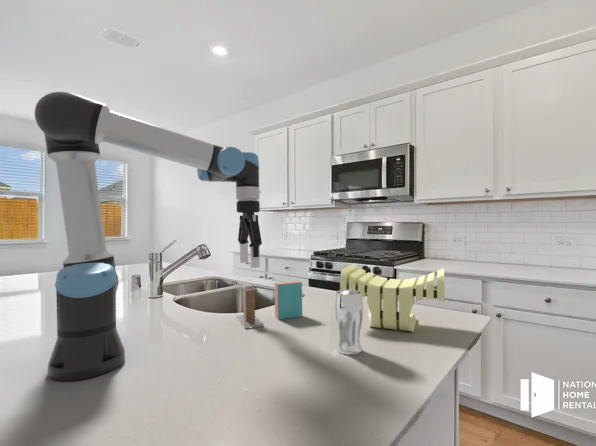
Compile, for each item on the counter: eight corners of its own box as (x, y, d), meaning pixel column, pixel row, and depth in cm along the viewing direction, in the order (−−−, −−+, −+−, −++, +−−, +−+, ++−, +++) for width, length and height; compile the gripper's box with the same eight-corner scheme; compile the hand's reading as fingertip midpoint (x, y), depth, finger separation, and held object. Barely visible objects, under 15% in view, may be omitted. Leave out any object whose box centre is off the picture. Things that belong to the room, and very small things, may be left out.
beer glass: (368, 349, 85) (367, 291, 85) (353, 358, 80) (352, 296, 80) (345, 343, 90) (345, 288, 90) (330, 350, 85) (329, 292, 85)
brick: (302, 316, 115) (302, 282, 115) (278, 320, 112) (277, 284, 111) (298, 314, 118) (298, 280, 118) (275, 317, 114) (274, 282, 114)
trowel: (263, 326, 105) (263, 292, 105) (245, 329, 103) (244, 294, 102) (253, 316, 116) (252, 285, 116) (236, 319, 114) (235, 287, 113)
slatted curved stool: (340, 326, 104) (340, 269, 104) (352, 313, 119) (352, 263, 119) (444, 339, 92) (444, 275, 92) (444, 322, 107) (443, 267, 107)
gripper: (271, 198, 99) (272, 268, 99) (249, 202, 122) (250, 260, 122) (246, 198, 96) (248, 271, 96) (228, 202, 119) (230, 261, 119)
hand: (249, 265), depth 109 cm, fingers open, 13 cm apart
